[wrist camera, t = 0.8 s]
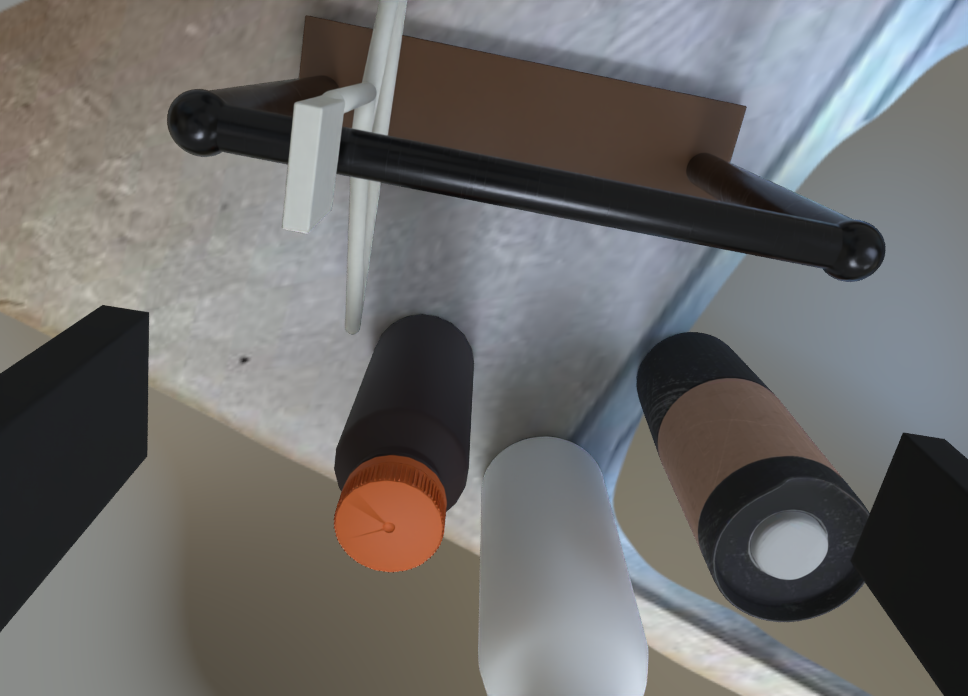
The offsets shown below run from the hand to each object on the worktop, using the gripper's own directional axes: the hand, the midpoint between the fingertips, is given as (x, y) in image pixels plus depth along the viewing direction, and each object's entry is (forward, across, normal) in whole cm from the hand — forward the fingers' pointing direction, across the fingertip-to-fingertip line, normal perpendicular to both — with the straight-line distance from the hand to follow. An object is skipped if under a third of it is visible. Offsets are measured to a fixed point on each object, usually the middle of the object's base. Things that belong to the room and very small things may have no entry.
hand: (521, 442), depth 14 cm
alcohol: (+37, +7, -22) cm, 44 cm away
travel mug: (+37, +15, -13) cm, 42 cm away
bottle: (+37, -3, -14) cm, 40 cm away
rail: (+37, +1, +2) cm, 37 cm away
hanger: (+28, -6, +2) cm, 29 cm away
